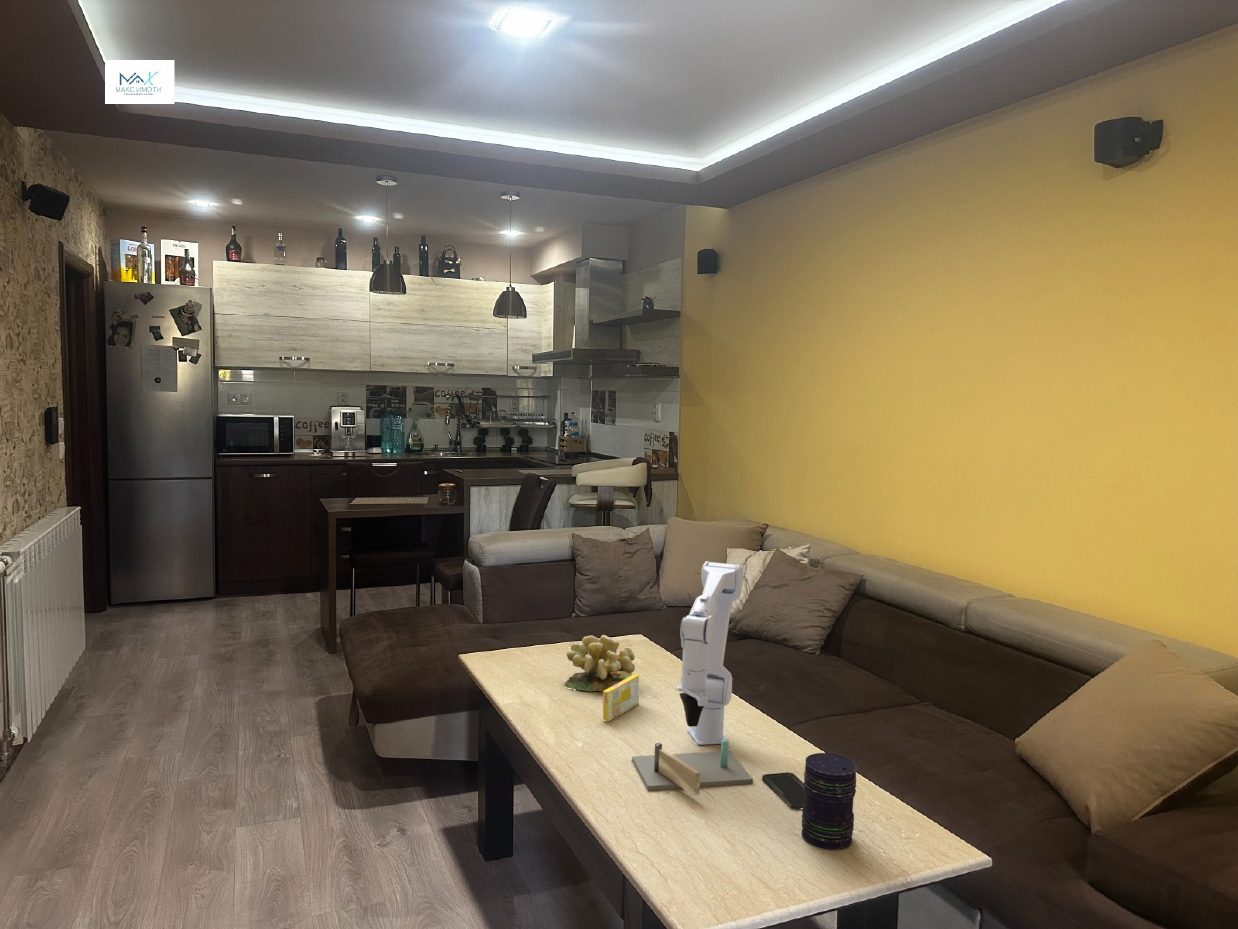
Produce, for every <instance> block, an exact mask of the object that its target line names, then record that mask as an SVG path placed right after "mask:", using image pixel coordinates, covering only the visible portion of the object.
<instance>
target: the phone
mask: <svg viewBox="0 0 1238 929" xmlns="http://www.w3.org/2000/svg"><path fill="white" fill-rule="evenodd" d="M761 781H762V782H763V783H764V784H765V785H766V784H767V785H766V786H767V787H770V788H769V789H770V790H771V791H772V790H773V791H772V792H773V793H774V794H775V795H776V796H777V797H778V798H779V799H780V800H781V801H782V802H783V803H784V804H785V805H786V804H787V805H786V807H788V808H789V809H790V808H791V809H790V810H793V809H795V810H796V809H798V810H801V809H800V808H803V805H804V802H805V789H804V781H802V780H801V779H800V778H799V777H798V776H797V775H796V774H795V773H793V772H777V773H776V772H775V773H768V774H762V778H761ZM796 811H797V810H796Z"/></svg>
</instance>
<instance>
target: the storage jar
mask: <svg viewBox="0 0 1238 929" xmlns="http://www.w3.org/2000/svg"><path fill="white" fill-rule="evenodd" d="M803 774H804V775H803V783H804V789H805V802H804V805H803V809H801V811H802V813H801V828H802V829H801V837H802V839H803V840H804V841H805V842H806V843H808V845H810V846H813V847H814V848H816V849H820V850H825V851H830V852H831V851H834V852H835V851H837V852H838V851H844V850H846V849H848V848H850V847H851V845H853V832H854V829H855V828H854V826H855V823H854V822H855V813H854V799H855V796H856V792H857V791H856V787H857V764H856V763H855V762H854V761H853V760H851V759H850V758H848V757H846V756H844V755H840V754H836V753H829V752H816V753H812V754H809V755H808V756H806V758H805V766H804V772H803ZM843 849H844V850H843Z"/></svg>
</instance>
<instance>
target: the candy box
mask: <svg viewBox="0 0 1238 929" xmlns="http://www.w3.org/2000/svg"><path fill="white" fill-rule="evenodd" d="M639 676H640V675H639V674H632V676H630V677H628V678H626V679H625V680H623V681H621V682H619V683H617V684H615V685H614V686H612V687H610V688H608V689H606V690H604V691H603V692H602V693H603V694H602V720H603V719H604V720H606V721H610V720H611V719H613V720H615V719H616V718H618V717H619V716H618V715H620V716H621V715H623V714H625V713H626V712H628V711H630V710H631V709H633V708H634V706H635V707H636V706H638V705H640V686H639V684H640V682H639V681H640V677H639ZM630 708H631V709H630ZM629 709H630V710H629ZM624 712H625V713H624ZM622 713H623V714H622ZM617 716H618V717H617ZM615 717H616V718H615ZM614 718H615V719H614ZM611 721H612V720H611ZM611 721H610V722H611Z"/></svg>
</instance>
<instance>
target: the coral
mask: <svg viewBox="0 0 1238 929" xmlns="http://www.w3.org/2000/svg"><path fill="white" fill-rule="evenodd" d="M581 641H582V643H578V642H573V643H572V644H571V645H570V650H568V651H567V652H566V657H567V660H568V661H570V662H572V665H573V666H574V667H577V668H580V669H581V670H582V671H583V670H584V672H575V673H573V674H572V676H569V677H568V679H567V680H566V681H565V682H564V685H563V687H564V686H565V687H567V688H572V689H577V690H576V691H584V692H592V691H594V692H595V691H604V690H606V689H608V688H610V687H612V686H614V685H615V684H617V683H619V682H621V681H623V680H625V679H626V678H628V677H630V676H632V675H633V672H635V669H636V666H635V664H634V663H633V662H632V661H634V660H635V653H634V651H633V650H632V648H631V647H629V646H625V647H624V648H621V650H620V652H619V653H618V654H617V650H618V649H619V646H620V641H619V640H615V639H612V638H611V637H609V636H607V635H605V634H602V635H601V636H600V637H599V639H598V637H596V636H594V635H587V636H586V635H585V636H584V637H583V638H582V639H581Z"/></svg>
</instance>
